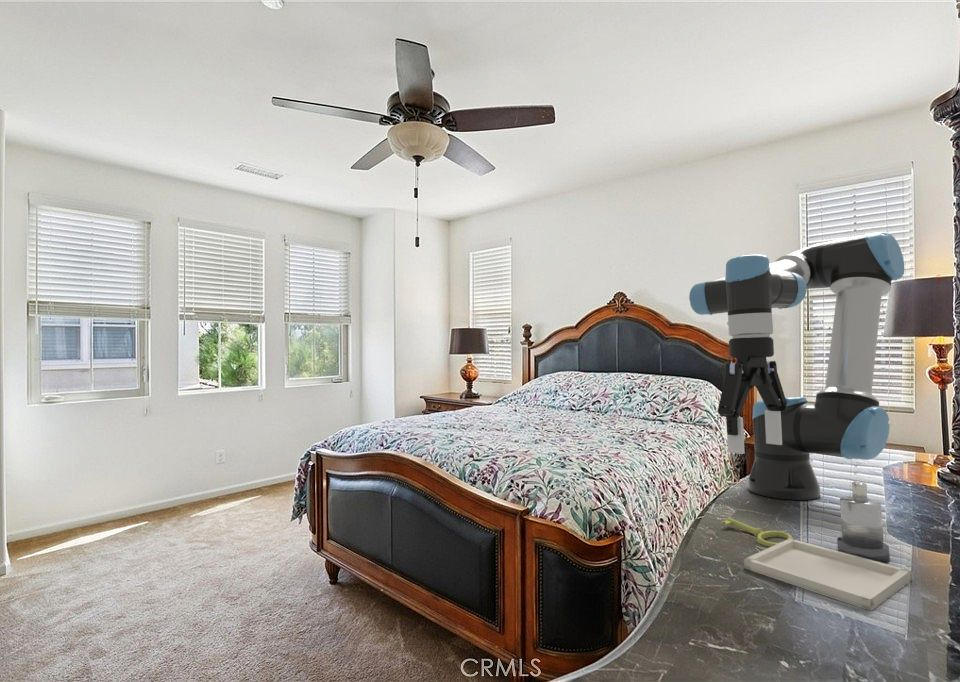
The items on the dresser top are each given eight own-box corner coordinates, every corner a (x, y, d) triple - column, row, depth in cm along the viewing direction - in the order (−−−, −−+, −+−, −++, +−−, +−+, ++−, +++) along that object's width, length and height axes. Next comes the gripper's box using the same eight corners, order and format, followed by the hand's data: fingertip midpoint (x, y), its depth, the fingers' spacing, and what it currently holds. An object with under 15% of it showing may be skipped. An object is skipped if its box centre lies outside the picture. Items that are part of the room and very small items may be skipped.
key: (726, 526, 101) (725, 516, 101) (796, 541, 93) (796, 529, 93) (713, 537, 96) (713, 525, 96) (786, 553, 88) (786, 541, 88)
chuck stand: (848, 544, 89) (844, 476, 90) (896, 556, 84) (892, 484, 84) (830, 553, 86) (826, 482, 86) (880, 567, 80) (875, 491, 80)
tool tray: (790, 546, 89) (789, 538, 89) (911, 580, 75) (911, 570, 75) (744, 568, 81) (743, 559, 81) (871, 610, 67) (870, 599, 67)
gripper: (764, 337, 106) (769, 438, 105) (693, 338, 92) (699, 454, 92) (802, 335, 100) (808, 442, 99) (733, 335, 86) (739, 460, 85)
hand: (755, 448), depth 95 cm, fingers open, 13 cm apart
